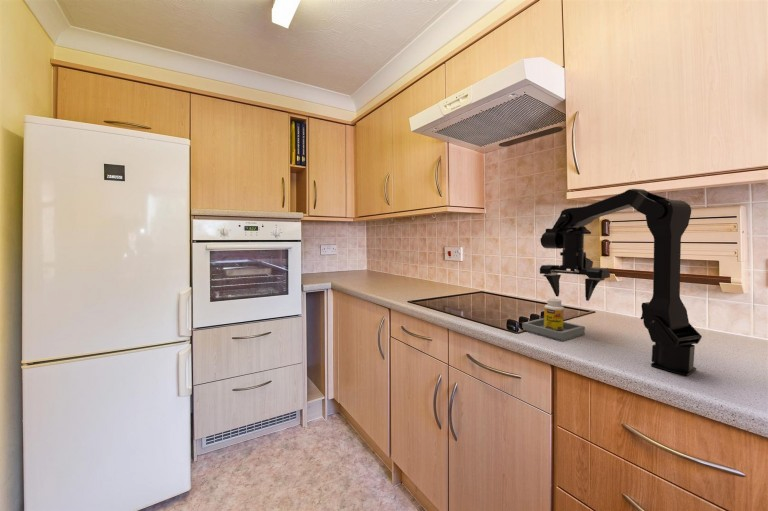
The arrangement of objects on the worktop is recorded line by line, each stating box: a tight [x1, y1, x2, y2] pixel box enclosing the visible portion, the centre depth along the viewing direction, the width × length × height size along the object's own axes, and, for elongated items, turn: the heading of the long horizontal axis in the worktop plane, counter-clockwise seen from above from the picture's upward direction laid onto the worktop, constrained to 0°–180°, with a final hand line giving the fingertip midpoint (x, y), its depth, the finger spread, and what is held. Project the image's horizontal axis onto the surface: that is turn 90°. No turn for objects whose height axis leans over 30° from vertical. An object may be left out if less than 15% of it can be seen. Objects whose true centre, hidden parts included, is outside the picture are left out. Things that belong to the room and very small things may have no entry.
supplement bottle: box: [543, 298, 565, 332], centre depth 102 cm, size 6×6×10 cm
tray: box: [521, 317, 586, 342], centre depth 102 cm, size 13×13×2 cm
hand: (571, 298), depth 100 cm, fingers open, 9 cm apart
